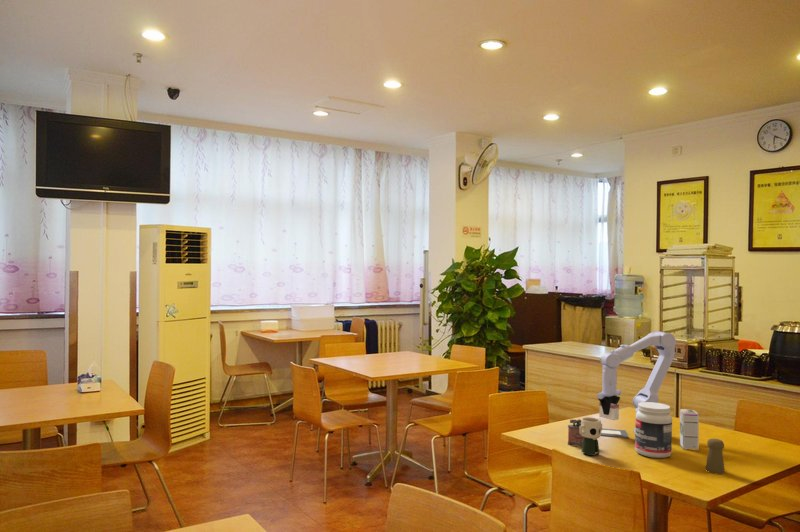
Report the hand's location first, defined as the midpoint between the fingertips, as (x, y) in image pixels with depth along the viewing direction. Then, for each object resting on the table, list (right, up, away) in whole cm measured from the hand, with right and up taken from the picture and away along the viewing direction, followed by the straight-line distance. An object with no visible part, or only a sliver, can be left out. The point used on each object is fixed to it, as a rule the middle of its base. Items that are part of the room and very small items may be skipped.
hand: (608, 413), depth 252 cm
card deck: (0, -2, 0) cm, 2 cm away
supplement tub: (+7, -9, -27) cm, 29 cm away
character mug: (-17, -8, -29) cm, 34 cm away
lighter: (-18, -8, -17) cm, 26 cm away
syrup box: (+25, -9, -18) cm, 32 cm away
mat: (0, -8, +1) cm, 8 cm away
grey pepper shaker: (+21, -9, -45) cm, 50 cm away
